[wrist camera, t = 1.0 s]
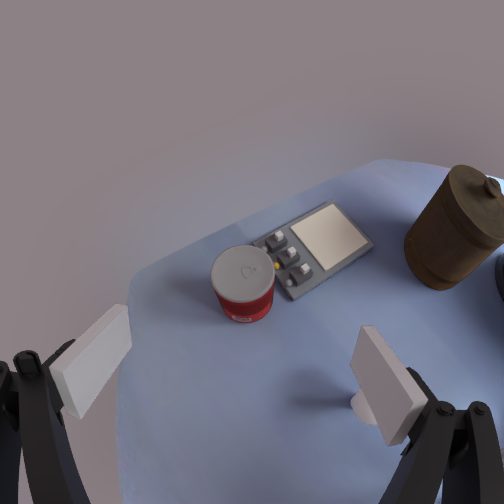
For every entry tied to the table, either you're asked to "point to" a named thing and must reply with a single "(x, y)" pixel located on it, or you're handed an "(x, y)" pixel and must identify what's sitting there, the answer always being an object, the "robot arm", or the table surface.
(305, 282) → the breaker board
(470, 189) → the wooden container
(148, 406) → the table surface
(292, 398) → the table surface
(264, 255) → the canned food
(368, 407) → the lightbulb
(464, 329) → the table surface
